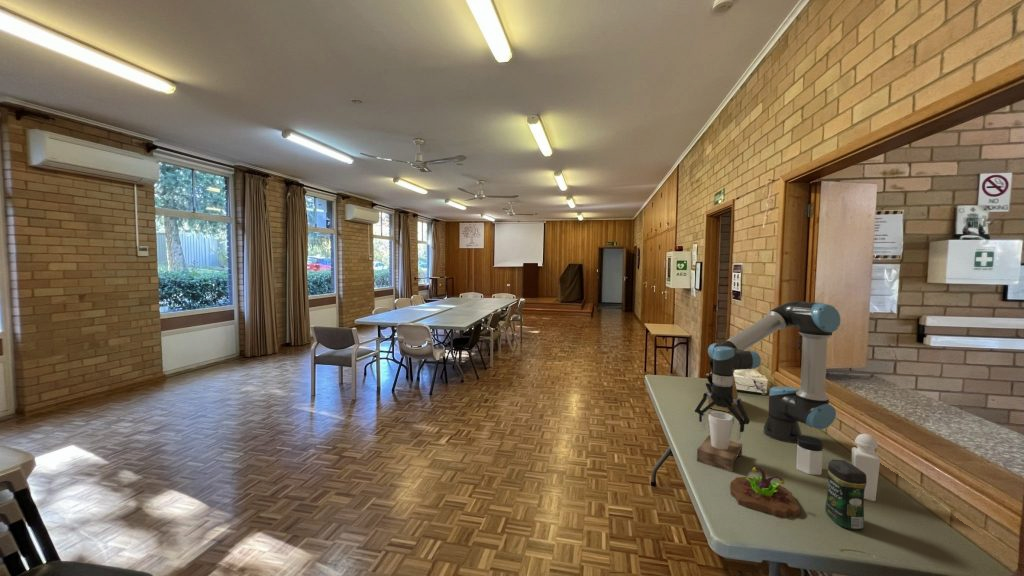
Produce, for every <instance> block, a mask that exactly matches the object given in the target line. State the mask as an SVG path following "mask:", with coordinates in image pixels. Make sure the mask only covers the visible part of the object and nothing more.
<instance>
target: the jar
mask: <svg viewBox="0 0 1024 576" xmlns="http://www.w3.org/2000/svg"><path fill="white" fill-rule="evenodd" d="M823 448H824V443H823V441H822V440H820V439H818V438H816V437H812V436H808V435H802V436H799V437H798V438H797V442H796V460H795V461H796V463H795V464H796V465H795V466H796V469H797V470H798V471H800V472H803V473H805V474H808V475H811V476H812V475H815V476H820V475H821V476H822V471H823V453H824V452H823V451H824V450H823Z"/></svg>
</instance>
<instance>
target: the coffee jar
mask: <svg viewBox="0 0 1024 576" xmlns="http://www.w3.org/2000/svg"><path fill="white" fill-rule="evenodd" d="M827 475H828V476H827V477H828V478H827V479H828V480H827V481H828V482H827V493H826V501H825V507H824V508H825V513H826V515H827V516H828V517H829V518H830V519H831V520H832V521H833V522H834V523H835V524H837V525H838V526H840V527H841V528H845V529H848V530H851V531H853V530H855V531H858V530H863V529H864V528H865V499H864V490H865V487H866V484H867V483H866V482H867V481H866V474H865V473H864V472H862V471H861V470H860V469H858V468H857V467H855V466H854V465H852V463H850V462H849V461H847V460H845V459H831V460H830V461H829V462H828V465H827Z"/></svg>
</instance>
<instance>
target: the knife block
mask: <svg viewBox="0 0 1024 576" xmlns="http://www.w3.org/2000/svg"><path fill="white" fill-rule="evenodd" d="M708 362H709V363H708V364H709V367H710V373H709V372H708V373H706V374H705V375H706V377H707V381H708V383H707V382H706V383H705V387H706V389H707V392H708V393H709V394H712V384H713V382H712V380H713V359H712V358H709V359H708ZM735 379H736V378H735V375H734V373H733V385H732V387H733V399H739V398H738V397H739V394H738V391H737V389H738V388H737V385H736V384H737V383H736V380H735ZM707 399H708V400H707V403H708V404H707V406H708V405H709V404H710V403H711V402H713V400H712V399H711V397H709V398H707ZM731 404H732V405H733V406H735V405H736V404H735V402H732V403H731ZM711 408H712V409H711V410H718V411H720V412H725V413H731V411H730V410H729V409H728V408H727V407H726V408H724V407H721V406H717V405H713V406H712V407H711Z"/></svg>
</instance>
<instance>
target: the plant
mask: <svg viewBox="0 0 1024 576" xmlns="http://www.w3.org/2000/svg"><path fill="white" fill-rule="evenodd" d="M758 471H760V472H761V473H760V474H761V475H757V478H756V477H755V476H752V477H747V476H742V477H741V476H737V477H735V478H734V479H732V481H731V482H730V484H729V490H730V492H729V493H730V495H731V496H732V497H733V498H734V499H735V500H736V502H737V504H738V505H739V506H742V507H744V508H747V509H752V510H755V511H757V512H762V513H767V514H769V515H772V516H774V517H782V518H787V517H788V516H791V517H795V518H796V517H798V516H799V515H800V512H801V510H800V505H799V503H798V502H797V501H796V499H795V497H794V496H793V492H791V491H790V490H788V489H787V488H786V487H784V486H782V485H784V484H785V480H784V479H783V478H781V477H780V476H777V475H773V476H770V477H767V478H766V469H764V468H761V467H759V466H758V467H757V466H754V467H752V472H754V473H756V472H758ZM773 479H779V482H771V481H772V480H773ZM780 484H782V485H780Z"/></svg>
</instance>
